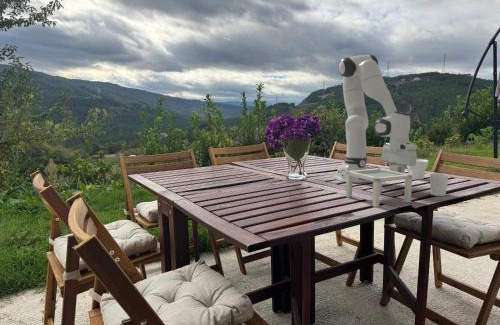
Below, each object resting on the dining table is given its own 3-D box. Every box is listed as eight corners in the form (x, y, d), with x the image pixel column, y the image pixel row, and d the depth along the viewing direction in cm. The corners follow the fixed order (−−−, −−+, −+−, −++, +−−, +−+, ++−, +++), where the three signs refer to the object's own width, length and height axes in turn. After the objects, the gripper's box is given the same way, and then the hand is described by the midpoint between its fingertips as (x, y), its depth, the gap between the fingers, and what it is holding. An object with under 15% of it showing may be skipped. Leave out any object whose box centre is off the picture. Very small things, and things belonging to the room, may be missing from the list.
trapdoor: (356, 179, 179) (356, 172, 178) (379, 177, 184) (379, 170, 184) (376, 184, 166) (376, 177, 166) (400, 182, 171) (401, 175, 171)
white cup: (439, 197, 180) (441, 176, 179) (425, 193, 187) (426, 174, 186) (450, 195, 184) (451, 175, 182) (436, 192, 191) (437, 172, 189)
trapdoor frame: (345, 196, 182) (346, 171, 180) (378, 193, 190) (379, 168, 188) (375, 207, 163) (376, 178, 161) (410, 202, 170) (412, 175, 169)
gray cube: (389, 175, 190) (389, 165, 189) (396, 174, 192) (397, 165, 191) (396, 177, 186) (397, 167, 185) (404, 176, 187) (404, 166, 187)
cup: (428, 177, 230) (429, 159, 228) (425, 180, 220) (427, 162, 218) (407, 175, 237) (408, 158, 235) (403, 179, 226) (404, 160, 225)
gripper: (379, 142, 195) (377, 168, 197) (409, 147, 176) (407, 176, 178) (388, 142, 197) (386, 168, 199) (419, 146, 178) (417, 175, 181)
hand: (396, 172), depth 188 cm, fingers closed on gray cube, 5 cm apart
